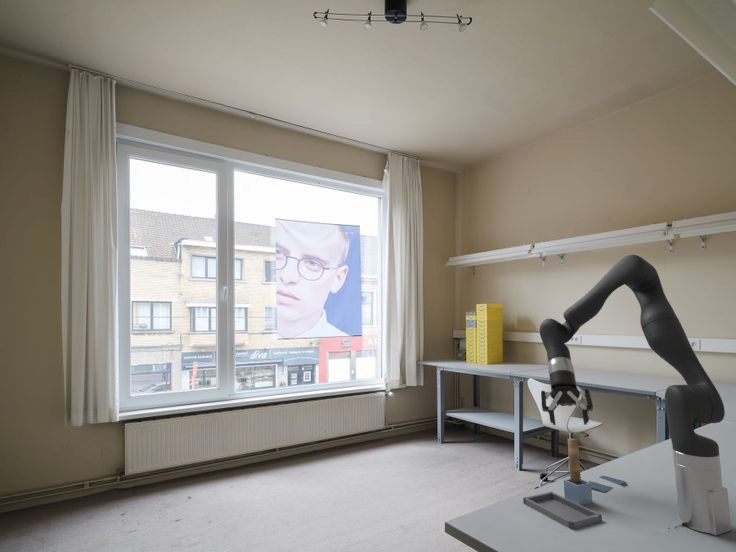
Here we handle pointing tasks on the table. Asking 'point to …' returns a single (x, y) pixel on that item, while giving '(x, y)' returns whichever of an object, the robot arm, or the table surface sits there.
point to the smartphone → (605, 488)
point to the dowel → (574, 461)
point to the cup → (578, 492)
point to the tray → (562, 510)
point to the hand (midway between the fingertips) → (569, 423)
